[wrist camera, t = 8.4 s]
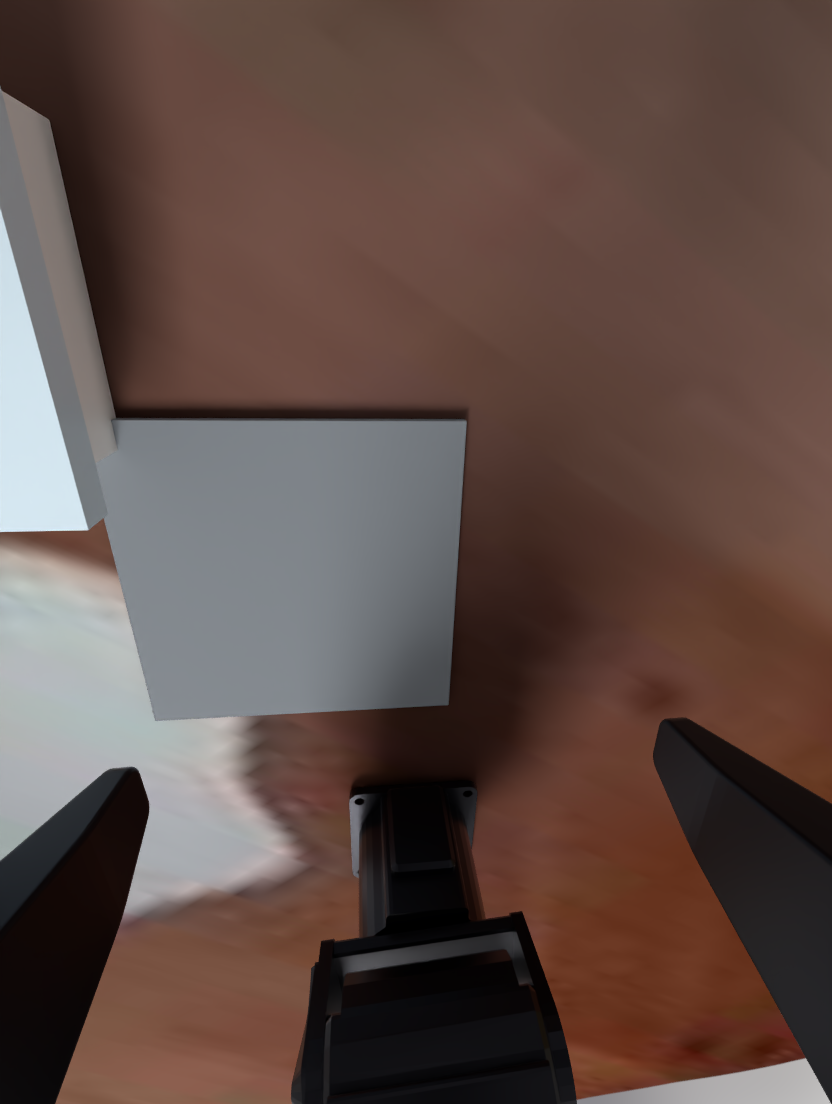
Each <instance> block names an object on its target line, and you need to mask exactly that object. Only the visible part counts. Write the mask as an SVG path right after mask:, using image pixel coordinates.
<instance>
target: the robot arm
mask: <svg viewBox="0 0 832 1104" xmlns="http://www.w3.org/2000/svg"><path fill="white" fill-rule="evenodd" d="M653 760H654V764H655V767H656V770H657V772H658V774H659V777H660V779H661V781H662V784H663V786H664V788H665V791H666V793H667V795H668V797H669V800H670V802H671V804H672V807H673V809H674V811H675V814H676V816H677V818H678V820H679V823H680V825H681V827H682V830H683V832H684V834H685V836H686V839H687V841H688V843H689V845H690V847H691V849H692V852H693V854H694V855H695V857H696V859H697V861H698V863H699V865H700V867H701V869H702V870H703V872H704V874H705V876H706V878H707V880H708V881H709V883H710V885H711V887H712V889H713V890H714V892H715V894H716V896H717V898H718V899H719V901H720V903H721V905H722V907H723V909H724V910H725V912H726V914H727V916H728V918H729V919H730V921H731V923H732V925H733V927H734V928H735V930H736V932H737V934H738V936H739V937H740V939H741V941H742V943H743V945H744V947H745V948H746V950H747V952H748V954H749V956H750V957H751V959H752V961H753V963H754V965H755V966H756V968H757V970H758V972H759V974H760V975H761V977H762V979H763V981H764V983H765V985H766V986H767V988H768V990H769V992H770V994H771V995H772V997H773V999H774V1001H775V1003H776V1004H777V1006H778V1008H779V1010H780V1012H781V1014H782V1015H783V1017H784V1019H785V1021H786V1023H787V1024H788V1026H789V1028H790V1030H791V1032H792V1033H793V1035H794V1037H795V1039H796V1041H797V1042H798V1044H799V1046H800V1048H801V1050H802V1052H803V1053H804V1055H805V1057H806V1059H807V1061H808V1062H809V1064H810V1066H811V1068H812V1070H813V1071H814V1073H815V1075H816V1077H817V1079H818V1080H819V1082H820V1084H821V1086H822V1088H823V1090H824V1091H825V1093H826V1095H827V1097H828V1098H829V1100H830V1102H831V1104H832V804H831V803H830V802H828V801H826V800H825V799H823V798H821V797H820V796H818V795H816V794H814V793H813V792H811V791H809V790H808V789H806V788H804V787H803V786H801V785H799V784H798V783H796V782H794V781H793V780H791V779H789V778H788V777H786V776H784V775H782V774H781V773H779V772H777V771H776V770H774V769H772V768H771V767H769V766H767V765H766V764H764V763H762V762H761V761H759V760H757V759H756V758H754V757H752V756H750V755H749V754H747V753H745V752H744V751H742V750H740V749H739V748H737V747H735V746H734V745H732V744H730V743H729V742H727V741H725V740H723V739H722V738H720V737H718V736H717V735H715V734H713V733H712V732H710V731H708V730H707V729H705V728H703V727H702V726H700V725H698V724H697V723H695V722H693V721H691V720H690V719H688V718H683V717H681V718H669V719H664V720H663V721H662V722H661V723H660V725H659V730H658V734H657V738H656V743H655V747H654V751H653ZM476 801H477V789H476V785H475V783H474V782H472V781H468V780H466V781H452V782H437V783H423V784H408V785H394V786H380V787H365V788H356V789H354V790H352V791H351V792H350V796H349V805H350V826H351V847H352V868H353V875H354V876H356V877H358V878H359V938H354V939H347V940H341V941H335V940H334V939H330V940H323V941H321V947H320V955H319V962H316V963H315V966H313V967H312V968H311V982H310V996H309V1007H308V1015H307V1021H306V1026H305V1030H304V1034H303V1038H302V1043H301V1047H300V1051H299V1055H298V1059H297V1064H296V1068H295V1072H294V1076H293V1081H292V1088H291V1101H292V1104H577V1100H576V1093H575V1085H574V1079H573V1074H572V1068H571V1063H570V1059H569V1054H568V1049H567V1045H566V1041H565V1037H564V1033H563V1029H562V1025H561V1022H560V1018H559V1015H558V1012H557V1009H556V1006H555V1003H554V1000H553V997H552V994H551V991H550V988H549V986H548V983H547V980H546V977H545V974H544V972H543V969H542V966H541V963H540V960H539V957H538V955H537V952H536V949H535V946H534V943H533V941H532V938H531V935H530V932H529V929H528V927H527V924H526V921H525V918H524V915H523V913H522V911H519V912H513V913H510V914H509V916H503V917H496V918H489V919H486V917H485V912H484V907H483V902H482V898H481V893H480V888H479V883H478V879H477V874H476V869H475V864H474V860H473V855H472V850H471V849H472V840H473V830H474V821H475V811H476ZM148 816H149V801H148V797H147V794H146V791H145V788H144V785H143V782H142V779H141V776H140V773H139V771H138V770H137V769H136V768H135V767H123V768H113V769H109V770H107V771H106V772H104V773H103V774H102V775H101V776H99V777H98V778H97V779H96V780H95V781H94V782H92V783H91V784H90V785H89V786H88V787H86V788H85V789H84V790H83V791H82V792H81V793H79V794H78V795H77V796H76V797H75V798H74V799H72V800H71V801H70V802H69V803H68V804H67V805H65V806H64V807H63V808H62V809H61V810H59V811H58V812H57V813H56V814H55V815H54V816H52V817H51V818H50V819H49V820H48V821H47V822H45V823H44V824H43V825H42V826H41V827H40V828H38V829H37V830H36V831H35V832H34V833H32V834H31V835H30V836H29V837H28V838H27V839H25V840H24V841H23V842H22V843H21V844H20V845H18V846H17V847H16V848H15V849H14V850H13V851H11V852H10V853H9V854H8V855H7V856H5V857H4V858H3V859H2V860H1V861H0V1104H55V1103H56V1100H57V1097H58V1094H59V1092H60V1089H61V1086H62V1083H63V1081H64V1078H65V1075H66V1072H67V1070H68V1067H69V1064H70V1061H71V1059H72V1056H73V1053H74V1050H75V1047H76V1045H77V1042H78V1039H79V1036H80V1034H81V1031H82V1028H83V1025H84V1023H85V1020H86V1017H87V1014H88V1012H89V1009H90V1006H91V1003H92V1001H93V998H94V995H95V992H96V990H97V987H98V984H99V981H100V978H101V976H102V973H103V970H104V967H105V965H106V962H107V959H108V956H109V954H110V951H111V948H112V945H113V943H114V940H115V937H116V934H117V931H118V928H119V925H120V922H121V919H122V916H123V913H124V909H125V906H126V902H127V898H128V894H129V891H130V887H131V883H132V879H133V875H134V871H135V867H136V863H137V859H138V855H139V851H140V848H141V844H142V840H143V836H144V832H145V828H146V824H147V820H148Z"/></svg>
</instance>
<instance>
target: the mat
mask: <svg viewBox="0 0 832 1104" xmlns="http://www.w3.org/2000/svg"><path fill="white" fill-rule="evenodd" d="M111 423H112V427H113V432H114V436H115V440H116V445H117V449H118V450H117V451H115V452H113V453H112V454H110V455H108V456H107V457H105V458H103V459H102V460H100V461H98V462H96V463H95V464H96V468H97V472H98V476H99V480H100V484H101V488H102V492H103V496H104V500H105V504H106V508H107V512H108V514H107V515H106V516H105V517H104V521H105V524H106V528H107V532H108V536H109V540H110V544H111V548H112V552H113V556H114V560H115V564H116V568H117V572H118V576H119V580H120V583H121V587H122V591H123V595H124V599H125V603H126V607H127V611H128V615H129V619H130V623H131V627H132V631H133V635H134V638H135V642H136V646H137V650H138V654H139V658H140V662H141V666H142V670H143V674H144V678H145V682H146V686H147V690H148V693H149V697H150V701H151V705H152V709H153V713H154V717H155V721H162V720H181V719H199V718H218V717H236V716H255V715H273V714H292V713H311V712H329V711H348V710H366V709H385V708H403V707H422V706H440V705H449V690H450V674H451V658H452V643H453V627H454V611H455V596H456V580H457V564H458V549H459V533H460V517H461V502H462V486H463V470H464V455H465V439H466V423H467V421H466V420H465V419H285V418H115V419H113V420H111Z"/></svg>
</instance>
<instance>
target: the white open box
mask: <svg viewBox="0 0 832 1104" xmlns="http://www.w3.org/2000/svg"><path fill="white" fill-rule="evenodd" d="M2 95H3V99H4V103H5V106H6V110H7V114H8V118H9V122H10V126H11V130H12V134H13V138H14V142H15V146H16V150H17V154H18V158H19V162H20V166H21V170H22V174H23V178H24V182H25V186H26V190H27V194H28V198H29V202H30V206H31V210H32V214H33V218H34V222H35V226H36V230H37V234H38V238H39V242H40V245H41V249H42V253H43V257H44V261H45V265H46V269H47V273H48V277H49V281H50V285H51V289H52V293H53V297H54V301H55V305H56V309H57V313H58V317H59V321H60V325H61V329H62V333H63V337H64V341H65V345H66V349H67V353H68V357H69V361H70V365H71V369H72V373H73V377H74V381H75V385H76V388H77V392H78V396H79V400H80V404H81V408H82V412H83V416H84V420H85V424H86V428H87V432H88V436H89V440H90V444H91V448H92V452H93V456H94V460H95V463H96V462H98V461H100V460H102V459H103V458H105V457H107V456H108V455H110V454H112V453H113V452H115V451H117V450H118V449H117V445H116V440H115V436H114V432H113V427H112V423H111V420H113V419H115V418H116V416H115V411H114V407H113V402H112V398H111V393H110V389H109V384H108V380H107V375H106V371H105V366H104V362H103V357H102V353H101V349H100V344H99V340H98V335H97V331H96V326H95V322H94V317H93V313H92V308H91V304H90V299H89V295H88V290H87V286H86V281H85V277H84V272H83V268H82V264H81V259H80V255H79V250H78V246H77V241H76V237H75V232H74V228H73V223H72V219H71V214H70V210H69V205H68V201H67V196H66V192H65V188H64V183H63V179H62V174H61V170H60V165H59V161H58V156H57V152H56V147H55V143H54V138H53V134H52V129H51V125H50V120H49V119H47V118H46V117H44V116H42V115H41V114H39V113H37V112H36V111H34V110H33V109H31V108H29V107H28V106H26V105H24V104H23V103H21V102H19V101H18V100H16V99H15V98H13V97H11V96H10V95H8V94H6V93H5V92H3V91H2Z"/></svg>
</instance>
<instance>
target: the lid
mask: <svg viewBox="0 0 832 1104" xmlns="http://www.w3.org/2000/svg"><path fill="white" fill-rule="evenodd" d="M107 514H108V512H107V508H106V504H105V500H104V496H103V492H102V488H101V484H100V480H99V476H98V472H97V468H96V464H95V460H94V456H93V452H92V448H91V444H90V440H89V436H88V432H87V428H86V424H85V420H84V416H83V412H82V408H81V404H80V400H79V396H78V392H77V388H76V385H75V381H74V377H73V373H72V369H71V365H70V361H69V357H68V353H67V349H66V345H65V341H64V337H63V333H62V329H61V325H60V321H59V317H58V313H57V309H56V305H55V301H54V297H53V293H52V289H51V285H50V281H49V277H48V273H47V269H46V265H45V261H44V257H43V253H42V249H41V245H40V242H39V238H38V234H37V230H36V226H35V222H34V218H33V214H32V210H31V206H30V202H29V198H28V194H27V190H26V186H25V182H24V178H23V174H22V170H21V166H20V162H19V158H18V154H17V150H16V146H15V142H14V138H13V134H12V130H11V126H10V122H9V118H8V114H7V110H6V106H5V103H4V99H3V95H2V91H1V87H0V532H16V531H68V530H89V529H90V528H91V527H93V526H94V525H95V524H96V523H98V522H99V521H100V520H101V519H102V518H104V517H105V516H106V515H107Z"/></svg>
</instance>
